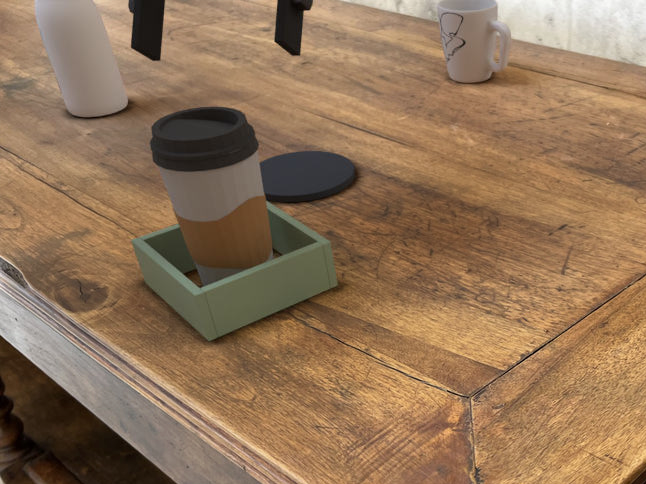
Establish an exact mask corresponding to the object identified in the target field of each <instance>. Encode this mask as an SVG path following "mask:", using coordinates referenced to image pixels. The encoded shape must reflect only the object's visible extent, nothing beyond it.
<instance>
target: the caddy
mask: <svg viewBox="0 0 646 484" xmlns="http://www.w3.org/2000/svg"><path fill="white" fill-rule="evenodd" d="M266 204H267V211H268V218H269V224H270V231H271V238H272V249H274V251H277V252H278V253H280V254H281V255H280V256H277V257H276V258H275V257H274V259H273V260H270V261H268V262H265V263H263V264H260V265H258V266H255V267H252V268H250V269H247V270H245V271H242V272H240V273H237V274H235V275H232V276H230V277H227V278H225V279H222V280H220V281H217V282H214V283H212V284H209V285H207V286H202V287H199V286H198V285H196V283H194V282H193V280H191V279H190V278H188V277H187V276H186V275H185V274H186V273H189V272H191V271H194V270H197V268H196V265H195V263H194V260H193V259H192V258H191V255H190V252H189V250H188V247H187V245H186V242H185V239H184V237H183V234H182V232H181V229H180V226H179V224H178V223H176V224H173V225H170V226H167V227H164V228H162V229H159V230H155V231H153V232H150V233H147V234H144V235H141V236H138V237H135V238H132V239H130V243H131V245H132V248H133V251H134V253H135V257H136V259H137V263H138V265H139V268H140V271H141V274H142V276H143V280H144V283H145V284H146V285H147V286H148V287H149V288H150V289H151V290H152V291H153V292H155V293H156V294H157V295H158V296H159V297H160V298H161V299H162V300H164V302H165V303H166V304H167V305H169V306H170V307H171V308H172V309H173V310H174V311H175V312H176V313H177V314H179V315H180V317H182V319H184V320H185V321H186V322H187V323H188V324H190V326H192V327H193V329H195V330H196V331H197V332H198V333H199V334H200V335H201V336H203V338H204V339H206V340H207V341H208V342H211V341H213V340H216V339H217V338H221V337H223V336H225V335H227V334H229V333H232V332H234V331H237V330H238V329H241V328H243V327H246V326H248V325H250V324H253V323H255V322H257V321H260V320H261V319H264V318H266V317H269V316H271V315H273V314H276V313H277V312H281V311H282V310H285V309H287V308H289V307H291V306H294V305H296V304H298V303H301V302H303V301H305V300H308V299H310V298H312V297H315V296H317V295H319V294H321V293H322V294H323V292H326V291H329V290H330V289H333V288H335V287H337V286H338V285H339V283H338V277H337V273H336V272H337V271H336V265H335V261H334V255H333V250H332V249H333V247H332V242H331V240H329V239H327V238H326V237H324V236H322V235H321V234H319V233H318V232H316V231H314V230H313V229H311V228H310V227H309V226H307V225H305V224H304V223H302V222H301V221H300V220H297V219H296V218H294V217H293V216H291V215H290V214H289V213H287V212H285V211H283V210H282V209H280V208H278V207H277V206H276V205H274V204H272V203H271V202H269V200H266Z"/></svg>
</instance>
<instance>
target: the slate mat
mask: <svg viewBox="0 0 646 484" xmlns="http://www.w3.org/2000/svg"><path fill="white" fill-rule="evenodd" d="M259 164H260V171H261V177H262V184H263V191H264V194H265V197H266V201H270V202H277V203H299V202H300V203H301V202H309V201H314V200H315V201H316V200H319V199H323V198H327V197H330V196H332V195H335V194H337V193H339V192H342V191H344V190H345V189H346V188H348V186H350V185H351V184H352V183H353V182H354V179H355V176H356V171H355V165H354V164H353V162H352V161H351V160H350V159H349V158H347V157H346V156H344V155H341V154H338V153H335V152H330V151H323V150H302V151H301V150H300V151H292V152H286V153H283V154H278V155H275V156H271V157H268V158H266V159H264V160H262V161H259Z"/></svg>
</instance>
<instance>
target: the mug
mask: <svg viewBox="0 0 646 484" xmlns="http://www.w3.org/2000/svg"><path fill="white" fill-rule="evenodd" d="M436 8H437V18H438V26H439V34H440V40H441V47H442V51H443V55H444V59H445V64H446V69H447V73H448V76H449V78H450V79H451V80H452V81H455V82H458V83H463V84H474V83H481V82H485V81H487V80H488V79H490V78H491V77H492V74H493V73H498V74H499V73H501V72H503V71H505V70H506V69H507V67H508V63H509V57H510V50H511V45H512V32H511V30H510V28H509V26H508V25H507V24H506V23H504V22H502V21H499V20H498V14H499V13H498V12H499V11H498V10H499V5H498V2H497V0H440V1H438V2H437V7H436ZM498 34H499V37H500V46H499V54H498V55H499V56H498V63H497V62H496V61H495V53H496V47H497V36H498Z"/></svg>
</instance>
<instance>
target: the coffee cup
mask: <svg viewBox="0 0 646 484" xmlns="http://www.w3.org/2000/svg"><path fill="white" fill-rule="evenodd" d="M150 131H151V136H152V137H151V139H150V141H149V147H150V151H151V156H152V162H153V163H154V164H155V165H156V166H157V168H158V171H159V174H160V176H161V178H162V179H161V180H162V181H163V183H164V186H165V189H166V192H167V194H168V197H169V199H170V202H171V204H172V209H173V214H174V216H175V219H176V221H177V224H179V226H180V229H181V232H182V234H183V237H184V239H185V242H186V245H187V247H188V250H189V252H190V255H191V258H192V259H193V260H194V263H195V265H196V268H197V269H196V270H197V273H198V276H199V278H200V281H201V283H202V287H204V286H207V285H209V284H212V283H214V282H217V281H220V280H222V279H225V278H227V277H230V276H232V275H235V274H237V273H240V272H242V271H245V270H247V269H250V268H252V267H255V266H258V265H260V264H263V263H265V262H268V261H270V260H273V259H275V257H274V252H273V248H272V238H271V231H270V224H269V218H268V211H267V204H266V201H267V200H266V197H265V194H264V191H263V184H262V177H261V171H260V164H259V163H260V158H259V152H258V150H259V146H260V143H259V140H258V139H257V137H256V131H255V129H254V126H253V125H252V124H250V123H249V122H248V120H247V116H246V114H245V113H244V112H242V111H241V110H239V109H236V108H233V107H228V106H227V107H225V106H200V107H199V106H198V107H193V108H192V107H191V108H187V109H182V110H178V111H175V112H172V113H169V114H166V115H165V116H161V117H159V118H158V119H157V120H156V121H154V122H153V124H152V125H151V127H150Z"/></svg>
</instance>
